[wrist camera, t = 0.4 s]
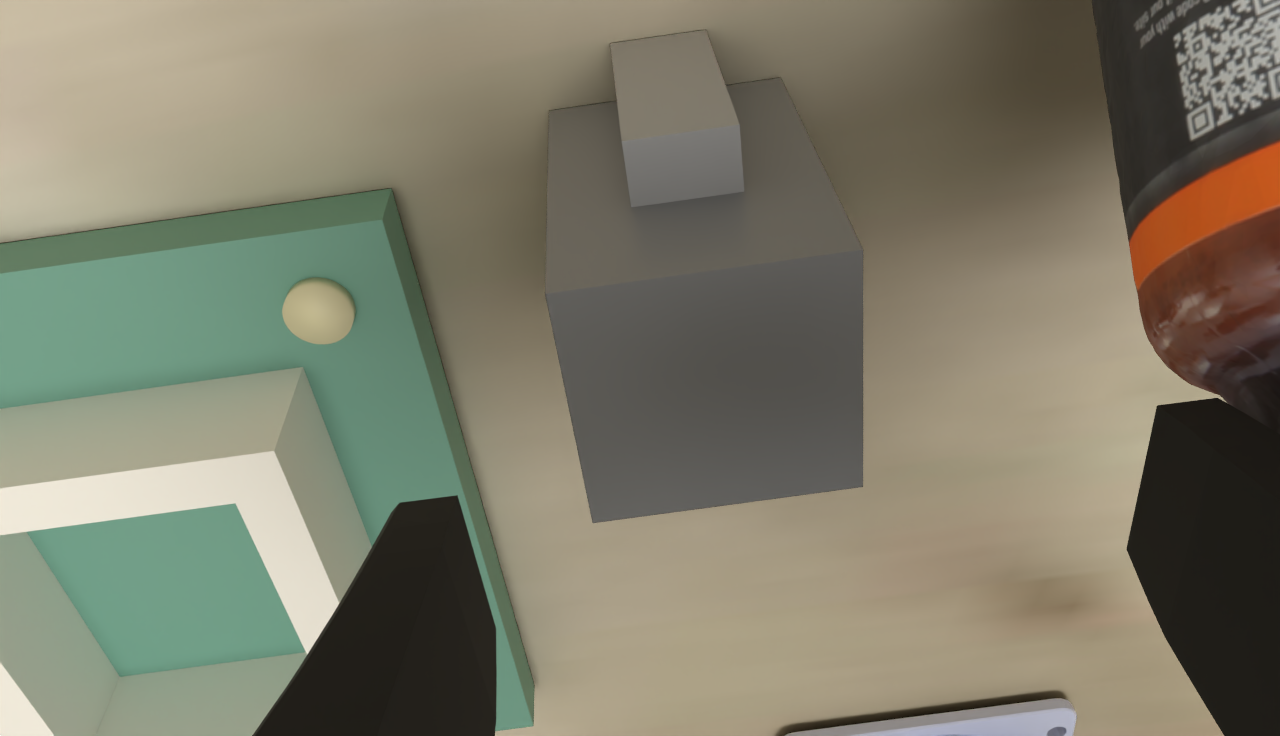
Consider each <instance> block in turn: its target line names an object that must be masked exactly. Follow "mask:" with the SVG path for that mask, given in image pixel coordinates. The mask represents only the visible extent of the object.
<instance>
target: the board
mask: <svg viewBox="0 0 1280 736" xmlns="http://www.w3.org/2000/svg"><path fill="white" fill-rule="evenodd" d="M299 367H303V368H304V371H305V374H306V376H307V379H308V381H309V384H310V387H311V389H312V392H313V395H314V397H315V400H316V402H317V405H318V408H319V410H320V413H321V415H322V418H323V421H324V423H325V426H326V428H327V431H328V434H329V436H330V439H331V442H332V444H333V447H334V449H335V452H336V455H337V457H338V460H339V462H340V465H341V468H342V470H343V473H344V475H345V478H346V481H347V483H348V486H349V489H350V491H351V494H352V496H353V499H354V502H355V504H356V507H357V509H358V512H359V515H360V517H361V520H362V522H363V525H364V528H365V530H366V533H367V536H368V538H369V541H370V543H371V546H373V544H374V542H375V541H376V539H377V537H378V535H379V534H380V532H381V530H382V528H383V526H384V525H385V523H386V521H387V519H388V517H389V515H390V514H391V512H392V511H393V510H394V508H395V507H396V506H397V505H398V504H399V503H401V502H409V501H416V500H424V499H432V498H440V497H448V496H455V495H458V499H459V502H460V505H461V509H462V512H463V516H464V519H465V523H466V526H467V530H468V533H469V536H470V540H471V543H472V547H473V550H474V554H475V557H476V561H477V564H478V568H479V571H480V574H481V578H482V581H483V585H484V588H485V592H486V595H487V599H488V602H489V605H490V609H491V612H492V616H493V619H494V623H495V626H496V665H497V696H496V728H495V731H500V730H508V729H515V728H523V727H530V726H533V723H534V683H533V679H532V676H531V672H530V669H529V665H528V662H527V658H526V655H525V651H524V648H523V644H522V641H521V638H520V634H519V631H518V627H517V624H516V620H515V617H514V613H513V610H512V606H511V603H510V599H509V596H508V592H507V589H506V585H505V582H504V578H503V575H502V571H501V568H500V564H499V561H498V557H497V554H496V551H495V547H494V544H493V540H492V537H491V533H490V530H489V526H488V523H487V519H486V516H485V512H484V509H483V505H482V502H481V498H480V495H479V491H478V488H477V484H476V481H475V477H474V474H473V470H472V467H471V464H470V460H469V457H468V453H467V450H466V446H465V443H464V439H463V436H462V432H461V429H460V425H459V422H458V418H457V415H456V411H455V408H454V404H453V401H452V397H451V394H450V390H449V387H448V383H447V380H446V377H445V373H444V370H443V366H442V363H441V359H440V356H439V352H438V349H437V345H436V342H435V338H434V335H433V331H432V328H431V324H430V321H429V317H428V314H427V310H426V307H425V303H424V300H423V297H422V293H421V290H420V286H419V283H418V279H417V276H416V272H415V269H414V265H413V262H412V258H411V255H410V251H409V248H408V244H407V241H406V237H405V234H404V230H403V227H402V223H401V220H400V216H399V213H398V210H397V206H396V203H395V199H394V196H393V192H392V189H383V190H376V191H369V192H362V193H355V194H348V195H341V196H334V197H327V198H320V199H313V200H306V201H299V202H292V203H285V204H278V205H271V206H264V207H257V208H250V209H242V210H235V211H228V212H221V213H214V214H207V215H200V216H193V217H186V218H179V219H172V220H165V221H158V222H151V223H144V224H137V225H130V226H123V227H116V228H108V229H101V230H94V231H87V232H80V233H73V234H66V235H59V236H52V237H45V238H38V239H31V240H24V241H17V242H10V243H3V244H0V409H3V408H10V407H17V406H24V405H32V404H39V403H46V402H53V401H61V400H68V399H75V398H82V397H89V396H97V395H104V394H111V393H118V392H126V391H133V390H140V389H147V388H154V387H162V386H169V385H176V384H183V383H191V382H198V381H205V380H212V379H219V378H227V377H234V376H241V375H248V374H256V373H263V372H270V371H277V370H284V369H292V368H299ZM27 534H28V535H29V537H30V538H31V540H32V541H33V543H34V545H35V546H36V548H37V549H38V551H39V552H40V554H41V555H42V557H43V559H44V560H45V562H46V563H47V565H48V566H49V568H50V569H51V571H52V573H53V574H54V576H55V577H56V579H57V580H58V582H59V583H60V585H61V586H62V588H63V590H64V591H65V593H66V594H67V596H68V597H69V599H70V600H71V602H72V604H73V605H74V607H75V608H76V610H77V611H78V613H79V614H80V616H81V618H82V619H83V621H84V622H85V624H86V625H87V627H88V628H89V630H90V631H91V633H92V635H93V636H94V638H95V639H96V641H97V642H98V644H99V645H100V647H101V649H102V650H103V652H104V653H105V655H106V656H107V658H108V659H109V661H110V663H111V664H112V666H113V667H114V669H115V670H116V672H117V673H118V675H119V676H120V677H123V676H131V675H138V674H146V673H153V672H161V671H168V670H176V669H183V668H191V667H199V666H206V665H214V664H221V663H229V662H236V661H244V660H251V659H259V658H266V657H274V656H281V655H289V654H297V653H304V652H306V651H305V649H304V647H303V645H302V643H301V641H300V639H299V637H298V634H297V632H296V630H295V628H294V626H293V624H292V622H291V620H290V618H289V615H288V613H287V611H286V609H285V607H284V605H283V603H282V601H281V598H280V596H279V594H278V592H277V590H276V588H275V586H274V584H273V582H272V579H271V577H270V575H269V573H268V571H267V569H266V567H265V565H264V563H263V560H262V558H261V556H260V554H259V552H258V550H257V548H256V546H255V544H254V541H253V539H252V537H251V535H250V533H249V531H248V529H247V527H246V524H245V522H244V520H243V518H242V516H241V514H240V512H239V510H238V508H237V505H236V503H234V504H227V505H219V506H212V507H205V508H197V509H190V510H182V511H175V512H168V513H160V514H153V515H146V516H138V517H131V518H124V519H116V520H109V521H102V522H94V523H87V524H79V525H72V526H65V527H57V528H50V529H43V530H35V531H28V532H27Z"/></svg>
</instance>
